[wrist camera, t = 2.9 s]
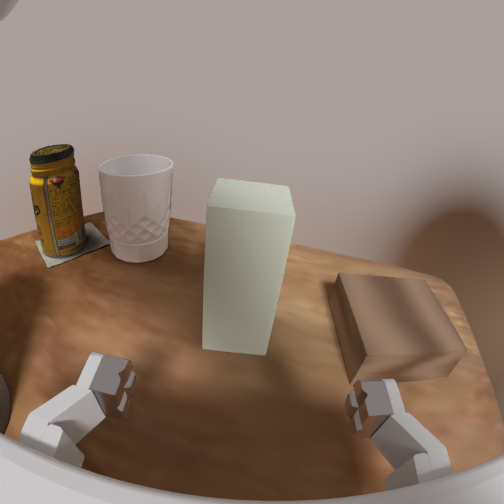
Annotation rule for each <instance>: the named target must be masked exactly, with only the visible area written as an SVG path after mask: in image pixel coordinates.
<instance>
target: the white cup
mask: <svg viewBox="0 0 504 504" xmlns="http://www.w3.org/2000/svg"><path fill="white" fill-rule="evenodd" d="M172 176H173V161H172V160H171V159H169V158H167V157H163V156H159V155H152V154H134V155H125V156H120V157H115V158H112V159H109V160H107V161H105V162H103V163H102V164H100V166H99V178H100V186H101V195H102V203H103V210H104V215H105V221H106V227H107V230H108V233H109V240H110V246H111V251H112V253H113V254H114V255H115V256H116V258H118V259H120V260H123V261H125V262H134V263H141V262H146V261H151V260H154V259H156V258H158V257H160V256H161V255H163V254H164V252H165V251H166V249H167V248H168V227H169V223H170V209H171V191H172Z"/></svg>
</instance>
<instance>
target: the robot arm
mask: <svg viewBox="0 0 504 504" xmlns="http://www.w3.org/2000/svg"><path fill="white" fill-rule="evenodd" d="M17 2H18V0H0V21H2V20H3V19H4V18H5V17H6V16H7V15H8V14H9V13H10V12H11V11H12V9H13V8H14V7H15V5H16V4H17ZM132 367H133V365H132V362H131V361H130V360H126V359H121V358H117V357H112V356H108V355H104V354H100V353H95V352H92V353H91V354H90V356H89V358H88V360H87V362H86V364H85V366H84V368H83V371H82V373H81V375H80V377H79V379H78V382H77V384H76V386H75V385H71V386H70V387H68V388H67V389H65V390H64V391H62V392H61V393H59V394H58V395H56V396H55V397H53V398H52V399H51V400H49V401H48V402H46V403H45V404H43V405H42V406H40V407H39V408H37V409H36V410H34V411H33V412H31V413H30V414H29V415H28V417H27V420H26V422H25V424H24V426H23V429H22V431H21V433H20V436H19V438H18V441H16V440H14V439H12V438H10V437H8V436H6V435H4V434H2V433H0V504H504V455H501V456H499V457H497V458H494V459H492V460H490V461H487V462H485V463H482V464H479V465H477V466H474V467H471V468H469V469H466V470H463V471H460V472H457V473H454V474H453V471H452V467H451V464H450V460H449V457H448V453H447V450H446V447H445V446H444V445H443V444H442V443H441V442H440V441H439V440H438V439H436V438H435V437H434V436H433V435H432V434H431V433H430V432H429V431H428V430H427V429H426V428H425V427H424V426H422V425H421V424H420V423H419V422H418V421H417V420H416V419H415V418H414V417H413V416H412V415H411V414H410V413H406V412H405V409H404V406H403V402H402V399H401V396H400V393H399V390H398V387H397V384H396V381H395V380H394V379H372V380H357V381H356V382H355V383H354V385H353V387H354V390H352V391H350V392H349V393H348V395H347V397H346V402H345V410H346V415H347V416H348V417H349V418H350V419H351V420H350V422H349V423H348V428H349V433H350V439H355V438H370V439H371V440H372V442H373V443H374V444H375V445H376V447H377V448H378V449H379V450H380V452H381V453H382V454H383V455H384V457H385V458H386V459H387V460H388V462H389V463H390V464H391V465H392V467H393V468H394V469H395V471H394V472H393V473H391V474H390V475H388V476H387V477H386V478H385V485H386V491H382V492H377V493H371V494H364V495H357V496H350V497H341V498H331V499H319V500H300V501H253V500H235V499H222V498H212V497H203V496H196V495H189V494H182V493H176V492H170V491H165V490H160V489H155V488H150V487H145V486H141V485H137V484H133V483H129V482H125V481H121V480H117V479H114V478H110V477H107V476H104V475H100V474H97V473H94V472H91V471H88V470H85V469H82V464H83V461H84V455H83V453H82V452H81V451H80V450H79V449H78V448H77V446H76V444H77V443H78V442H79V441H80V440H81V439H82V438H83V437H84V436H86V435H87V434H88V433H89V432H90V431H91V430H92V429H93V428H94V427H95V426H97V425H98V424H99V423H100V422H101V421H102V420H103V419H104V418H105V416H108V417H112V418H116V419H121V420H125V421H126V420H127V416H128V413H129V410H130V407H131V406H130V403H129V401H128V400H130V399H131V398H132V397H134V393H135V389H136V376H135V373H134V372H133V371H132Z"/></svg>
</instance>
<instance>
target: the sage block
mask: <svg viewBox="0 0 504 504" xmlns="http://www.w3.org/2000/svg"><path fill="white" fill-rule="evenodd" d="M294 222H295V212H294V207H293V203H292V199H291V194H290V190H289V187H288V186H281V185H273V184H265V183H257V182H249V181H240V180H230V179H221V178H218V180H217V182H216V185H215V188H214V190H213V192H212V195H211V197H210V200H209V203H208V205H207V217H206V237H205V259H204V288H203V333H202V349H208V350H216V351H224V352H233V353H243V354H254V355H265V356H266V352H267V348H268V344H269V339H270V335H271V330H272V326H273V322H274V317H275V313H276V308H277V304H278V299H279V295H280V290H281V285H282V281H283V276H284V271H285V266H286V262H287V257H288V252H289V247H290V242H291V237H292V232H293V226H294Z"/></svg>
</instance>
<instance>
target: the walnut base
mask: <svg viewBox="0 0 504 504" xmlns="http://www.w3.org/2000/svg"><path fill="white" fill-rule="evenodd" d="M329 305H330V309H331V312H332V316H333V319H334V323H335V327H336V331H337V334H338V338H339V342H340V346H341V350H342V354H343V357H344V361H345V365H346V370H347V374H348V378H349V382H350V385H354V383H355V382H356V381H357V380H372V379H394V380H395V381H396V382H407V381H417V380H427V379H435V378H443V377H447V376H448V375H449V373H450V372H451V371H452V370H453V368H454V367H455V366H456V364H457V363H458V362H459V360H460V359H461V358H462V356H463V355H464V353H465V352H466V351H467V349H466V347H465V345H464V343H463V342H462V340H461V338H460V336H459V334H458V333H457V331H456V329H455V328H454V326H453V324H452V323H451V321H450V319H449V317H448V316H447V314H446V313H445V311H444V309H443V308H442V306H441V304H440V303H439V301H438V300H437V298H436V297H435V295H434V293H433V292H432V290H431V289H430V287H429V286H428V284H427V283H426V281H425V280H419V279H407V278H394V277H382V276H371V275H359V274H347V273H338V276H337V279H336V282H335V285H334V288H333V292H332V295H331V298H330V300H329Z"/></svg>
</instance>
